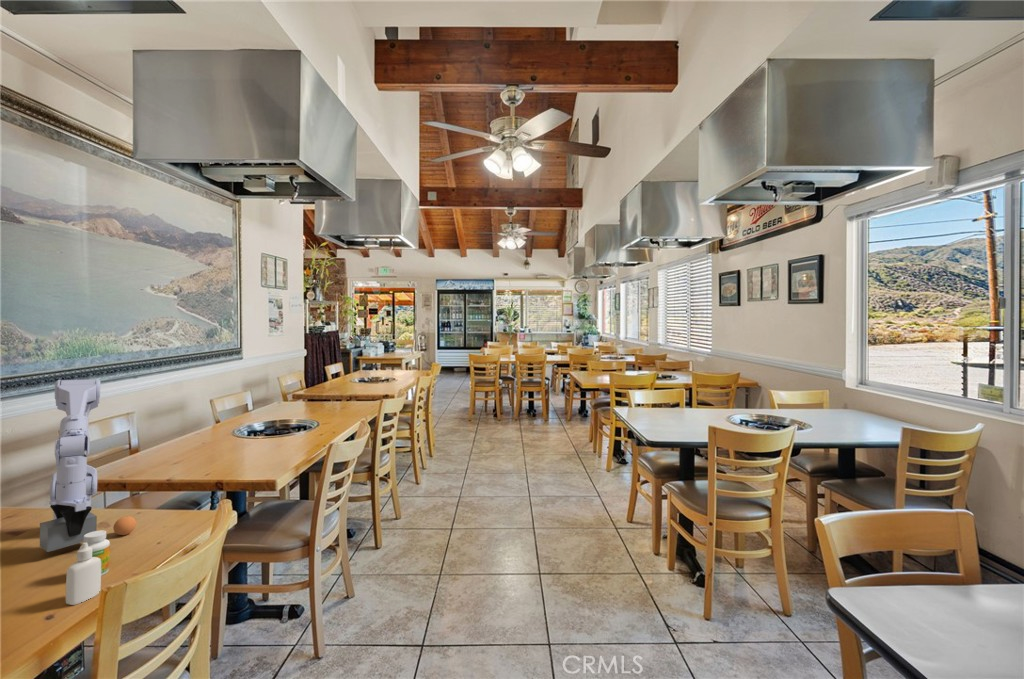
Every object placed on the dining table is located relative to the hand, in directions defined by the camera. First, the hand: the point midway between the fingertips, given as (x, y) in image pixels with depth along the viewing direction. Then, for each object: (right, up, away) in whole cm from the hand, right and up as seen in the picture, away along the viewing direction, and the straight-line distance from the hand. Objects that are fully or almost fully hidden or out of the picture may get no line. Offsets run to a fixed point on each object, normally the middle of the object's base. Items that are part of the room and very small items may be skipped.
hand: (70, 532), depth 120 cm
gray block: (0, -3, 0) cm, 3 cm away
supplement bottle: (+17, -5, -12) cm, 22 cm away
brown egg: (+6, -2, +10) cm, 12 cm away
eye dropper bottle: (+24, -5, -22) cm, 33 cm away
